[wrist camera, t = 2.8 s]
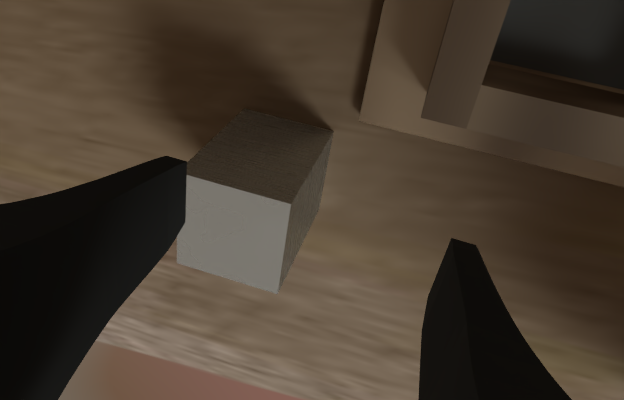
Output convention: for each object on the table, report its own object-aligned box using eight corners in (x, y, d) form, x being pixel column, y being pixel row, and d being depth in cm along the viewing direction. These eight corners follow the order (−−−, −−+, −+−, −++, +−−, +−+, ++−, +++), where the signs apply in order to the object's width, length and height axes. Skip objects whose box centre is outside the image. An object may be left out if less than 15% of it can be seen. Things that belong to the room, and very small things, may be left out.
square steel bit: (333, 131, 21) (290, 204, 16) (319, 208, 23) (277, 294, 18) (244, 108, 22) (176, 172, 17) (238, 186, 24) (177, 263, 19)
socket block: (994, -218, 12) (1135, -248, 9) (705, 200, 19) (741, 250, 16) (447, -286, 14) (441, -326, 11) (361, 115, 20) (344, 147, 18)
